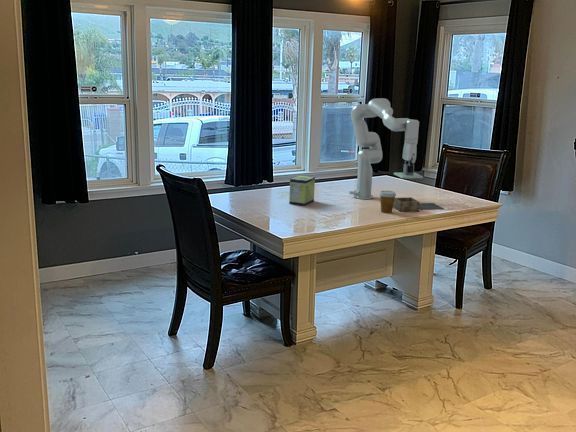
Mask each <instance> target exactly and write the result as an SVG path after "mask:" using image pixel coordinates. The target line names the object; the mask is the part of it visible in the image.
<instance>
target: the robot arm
mask: <svg viewBox="0 0 576 432" xmlns="http://www.w3.org/2000/svg"><path fill="white" fill-rule="evenodd" d="M393 114H394V109H393V108H392V107H391V102H390V101H389V99H388V98H383V97H381V98H379V97H378V98H372V99H370V101H368V103H360V104H356V105H354V106H353V107H352V109H351V112H350V119H351V123H352V125H353V129H354V130H353V131H354V135H355V140H356V144H357V146H358V147H359V148H363V149H360V150H359V151H358V152H357V154H356V159H357V160H356V161H357V180H356V189H354V190H353V191H351V190H350V191H349V192H348V194H349V195H353V197H354V198H355V199H359V200H371V199H374V195H373V194H372V185H373V184H372V183H373V167H372V165H371V164H378V163H380V162H381V161H382V160H383V155H384V154H383V150H382V148H383V147H382V144H381V138H380V135H378V133H376V132H374V131H369V128H368V124H367V122H366V121H365V119H364V118H376V117H379V118H380V119H382V123H383V125H384V127H386V128H387V129H389V130H391V132H404V144H403V149H402V155H401V156H402V159H403V160H404V164H409V166H408V171H407V172H408V173H413V166H414V167H415V163H416V160H417V152H418V151H417V149H418V148H417V145H418V140H419V127H420V121H419V120H418V119H410V118H409V117H404V118H403V117H401V118H399V117H398V118H395V117H394V116H393Z"/></svg>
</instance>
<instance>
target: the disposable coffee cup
mask: <svg viewBox="0 0 576 432" xmlns="http://www.w3.org/2000/svg"><path fill="white" fill-rule="evenodd" d="M379 197H380V210H381V211H380V212H381V213H383V214H391V213H393V209H394V208H393V204H394V199H395V198H396V197H397V194H396V192H395V191H392V190H381V191H380V193H379Z"/></svg>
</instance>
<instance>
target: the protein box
mask: <svg viewBox="0 0 576 432" xmlns="http://www.w3.org/2000/svg"><path fill="white" fill-rule="evenodd" d="M315 183H316V178H315V177H314V176H310V175H308V176H307V175H301V174H300V175H297V176H295V177H292V178H290V179H289V196H288V197H289V200H288V202H289V205H295V206H296V205H297V206H303V207H304V206H307V205H308V204H311V203H313V202H314V201H315V188H316V187H315Z"/></svg>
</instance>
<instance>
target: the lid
mask: <svg viewBox="0 0 576 432" xmlns="http://www.w3.org/2000/svg"><path fill="white" fill-rule="evenodd" d="M408 166H409V164H405V163H403V172H393V175H394V176H396V177H399V178H401V179H424V176H423V175H421V174H418V173H417V172H415V165H414V166H413V173H408V172H407V171H408Z"/></svg>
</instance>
